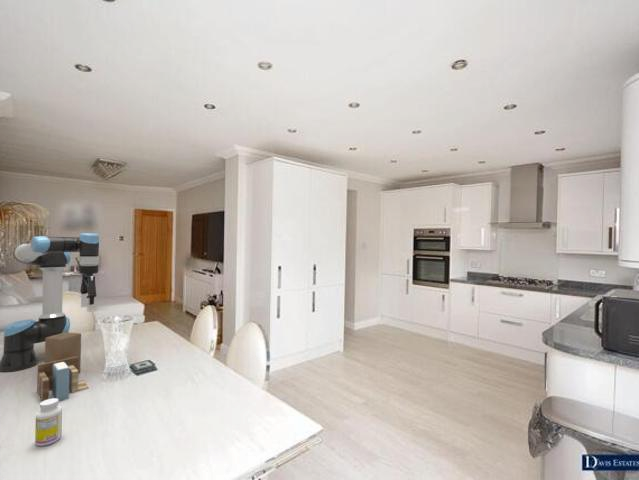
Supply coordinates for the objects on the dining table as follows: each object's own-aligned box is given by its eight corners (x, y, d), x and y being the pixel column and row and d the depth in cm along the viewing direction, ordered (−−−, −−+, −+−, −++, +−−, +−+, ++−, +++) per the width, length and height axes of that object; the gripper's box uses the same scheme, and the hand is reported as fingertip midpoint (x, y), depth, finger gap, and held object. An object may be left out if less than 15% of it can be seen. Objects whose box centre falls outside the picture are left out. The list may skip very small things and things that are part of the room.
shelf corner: (37, 392, 137) (37, 364, 137) (76, 381, 147) (77, 356, 148) (42, 403, 127) (43, 374, 127) (84, 391, 138) (85, 364, 138)
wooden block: (60, 381, 148) (61, 338, 148) (43, 379, 150) (44, 337, 150) (80, 373, 158) (81, 333, 158) (64, 371, 160) (65, 331, 160)
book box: (51, 394, 135) (52, 363, 136) (63, 391, 138) (64, 361, 139) (56, 402, 129) (57, 370, 129) (68, 398, 132) (69, 367, 132)
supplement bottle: (45, 434, 107) (46, 396, 107) (66, 434, 107) (67, 396, 107) (29, 447, 100) (30, 406, 100) (51, 446, 100) (52, 406, 101)
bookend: (66, 386, 143) (67, 366, 143) (83, 381, 148) (83, 362, 148) (72, 392, 137) (72, 372, 137) (88, 388, 141) (89, 368, 141)
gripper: (74, 263, 157) (72, 306, 157) (85, 267, 140) (83, 314, 140) (92, 263, 163) (90, 304, 163) (104, 266, 146) (103, 312, 146)
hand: (87, 309), depth 151 cm, fingers open, 13 cm apart
